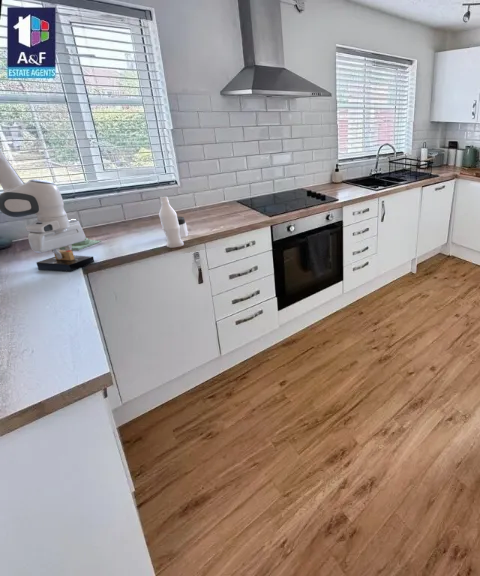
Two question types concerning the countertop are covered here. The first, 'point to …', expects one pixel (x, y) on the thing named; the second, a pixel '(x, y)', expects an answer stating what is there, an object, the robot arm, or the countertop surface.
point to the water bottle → (170, 224)
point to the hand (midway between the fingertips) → (64, 257)
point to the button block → (82, 244)
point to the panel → (65, 264)
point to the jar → (182, 227)
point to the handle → (66, 255)
